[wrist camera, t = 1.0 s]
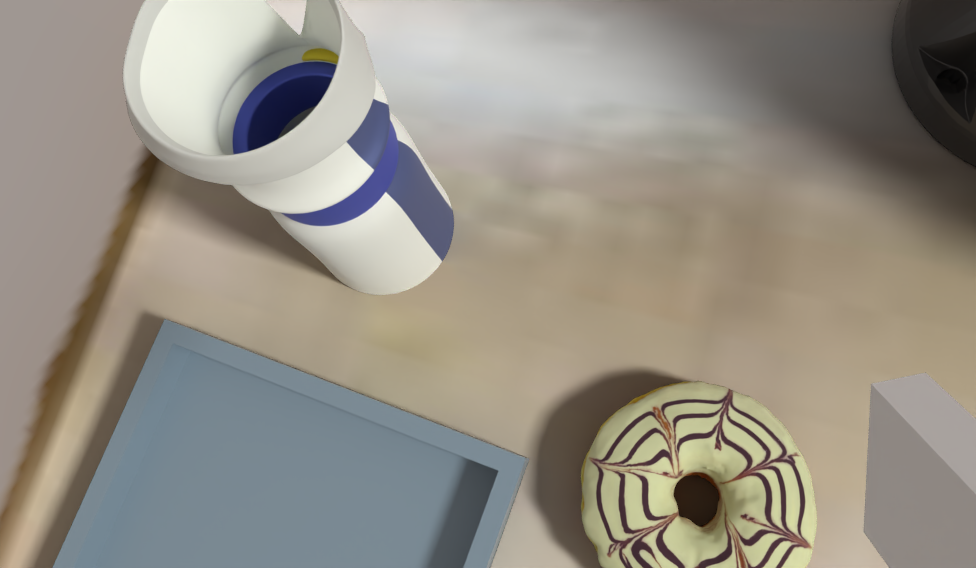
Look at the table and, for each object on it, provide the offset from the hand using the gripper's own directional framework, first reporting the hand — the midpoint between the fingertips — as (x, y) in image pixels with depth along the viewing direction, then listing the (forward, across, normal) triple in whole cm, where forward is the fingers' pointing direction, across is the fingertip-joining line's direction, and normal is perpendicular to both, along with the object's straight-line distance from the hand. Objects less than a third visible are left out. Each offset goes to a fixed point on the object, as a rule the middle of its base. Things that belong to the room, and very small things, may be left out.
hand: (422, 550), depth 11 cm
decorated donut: (+21, +10, -20) cm, 31 cm away
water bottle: (+33, -3, -8) cm, 34 cm away
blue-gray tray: (+22, -12, -22) cm, 33 cm away
